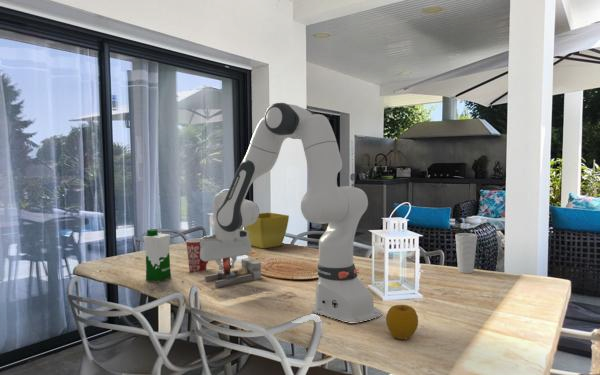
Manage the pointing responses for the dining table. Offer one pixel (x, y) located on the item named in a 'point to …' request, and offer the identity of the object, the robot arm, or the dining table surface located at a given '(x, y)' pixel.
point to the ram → (226, 270)
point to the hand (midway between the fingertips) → (226, 269)
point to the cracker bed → (252, 275)
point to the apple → (402, 321)
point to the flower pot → (268, 230)
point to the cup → (466, 251)
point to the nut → (242, 271)
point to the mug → (195, 255)
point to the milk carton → (157, 255)
